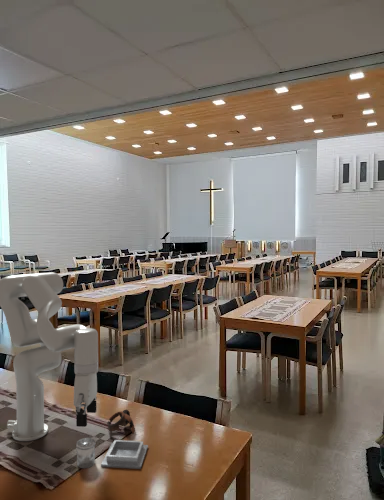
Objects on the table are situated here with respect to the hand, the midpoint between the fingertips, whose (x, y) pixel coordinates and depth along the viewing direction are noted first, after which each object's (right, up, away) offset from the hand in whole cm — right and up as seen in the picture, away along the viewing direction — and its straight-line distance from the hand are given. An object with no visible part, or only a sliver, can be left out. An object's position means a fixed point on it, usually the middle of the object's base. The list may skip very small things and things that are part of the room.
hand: (86, 419), depth 131 cm
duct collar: (+12, -15, +5) cm, 20 cm away
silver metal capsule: (0, -15, +1) cm, 15 cm away
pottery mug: (+8, -14, +23) cm, 28 cm away
